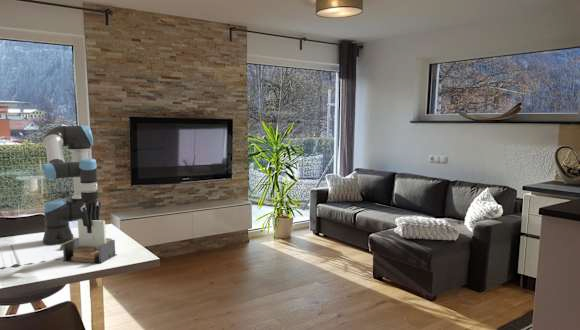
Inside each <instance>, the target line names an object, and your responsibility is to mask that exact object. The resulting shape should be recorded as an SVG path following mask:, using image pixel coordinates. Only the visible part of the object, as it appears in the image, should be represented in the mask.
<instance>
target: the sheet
mask: <svg viewBox="0 0 580 330" xmlns="http://www.w3.org/2000/svg"><path fill="white" fill-rule="evenodd" d="M92 226H93V230H94V239H93V240H92V239H88V233H87V226H83V221H82V220H78V221H77V227H78V231H77V232H78V238H79V246H90V247H96V251H99V248H98V247H99V246H101V245H103V244H105V243H106V238H107V233H106V232H107V231H106V220H100V219H99V220H92Z"/></svg>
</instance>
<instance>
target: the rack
mask: <svg viewBox="0 0 580 330" xmlns="http://www.w3.org/2000/svg"><path fill="white" fill-rule="evenodd" d="M76 238H77V239H75V238H74V239H75V240H72V241H70V242H67V243H65V244H63V250H62V252H63V253H62V254H63V260H62V262H65V263H76V264H77V263H78V264H79V263H80V264H94V265H101V264H103V263H105V262H107V261H108V260H111V259H112V258H114V257H116V256H118V255H119V254H117V253H116V240H115V239H112V240H111V241H109V242H107V243H105V244H103V245H101V246H99V247H98V248H99V260H98V261H96V262H94V263H92V262H78V261H72V260H71V257H72V256H73V249H74V248H76V247H78V246H79V237H76Z"/></svg>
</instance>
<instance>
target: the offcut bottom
mask: <svg viewBox="0 0 580 330" xmlns="http://www.w3.org/2000/svg"><path fill="white" fill-rule="evenodd" d="M71 260H72V261H78V262H92V263H94V262H96V261H98V260H99V256H98V257H96V258H82V257H73V256H72V257H71Z"/></svg>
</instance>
